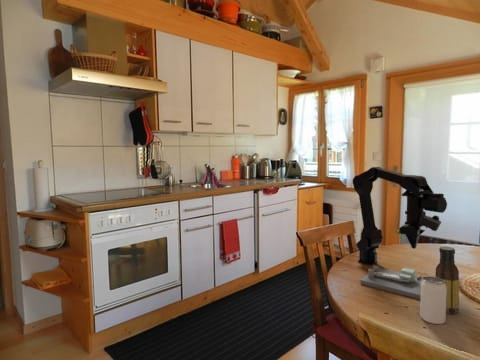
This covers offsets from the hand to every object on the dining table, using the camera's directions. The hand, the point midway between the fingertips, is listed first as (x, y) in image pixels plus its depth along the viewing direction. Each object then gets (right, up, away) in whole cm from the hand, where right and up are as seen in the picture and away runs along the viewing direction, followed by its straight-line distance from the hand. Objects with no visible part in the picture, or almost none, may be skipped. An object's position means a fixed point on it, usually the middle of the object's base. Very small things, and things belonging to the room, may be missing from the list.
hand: (413, 248), depth 124 cm
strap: (-11, -11, -3) cm, 15 cm away
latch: (-6, -11, -5) cm, 13 cm away
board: (-8, -13, -4) cm, 16 cm away
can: (-10, -15, -29) cm, 34 cm away
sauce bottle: (-3, -14, -24) cm, 28 cm away
